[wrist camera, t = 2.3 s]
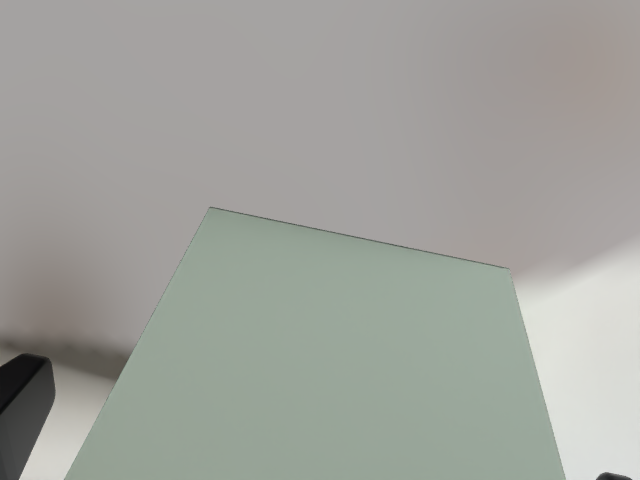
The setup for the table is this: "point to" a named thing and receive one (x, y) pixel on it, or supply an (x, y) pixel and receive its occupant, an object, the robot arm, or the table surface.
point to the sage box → (325, 367)
